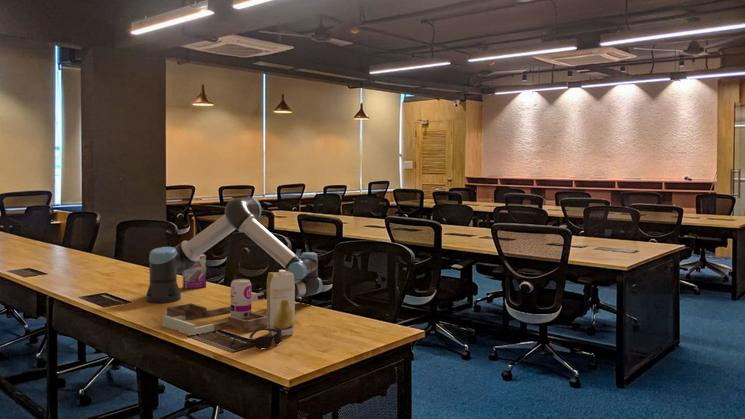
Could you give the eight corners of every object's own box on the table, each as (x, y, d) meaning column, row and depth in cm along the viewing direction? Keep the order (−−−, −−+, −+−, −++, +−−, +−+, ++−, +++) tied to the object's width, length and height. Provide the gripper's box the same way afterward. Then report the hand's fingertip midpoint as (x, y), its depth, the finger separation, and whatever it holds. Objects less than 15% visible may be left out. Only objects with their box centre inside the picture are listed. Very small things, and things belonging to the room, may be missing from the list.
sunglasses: (260, 353, 201) (260, 338, 201) (226, 344, 210) (226, 330, 210) (287, 343, 213) (287, 329, 212) (254, 335, 221) (254, 322, 221)
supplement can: (255, 315, 249) (255, 279, 248) (243, 320, 242) (243, 283, 241) (238, 313, 253) (238, 278, 251) (226, 318, 245) (226, 281, 244)
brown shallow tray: (223, 306, 265) (223, 297, 265) (285, 322, 239) (285, 312, 238) (167, 317, 245) (167, 307, 245) (227, 337, 218) (227, 326, 218)
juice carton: (271, 338, 217) (271, 272, 216) (265, 332, 224) (265, 268, 223) (296, 335, 222) (296, 270, 220) (289, 329, 229) (289, 267, 227)
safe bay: (183, 321, 239) (183, 311, 239) (213, 331, 226) (213, 320, 225) (162, 325, 232) (162, 315, 232) (192, 336, 219) (192, 325, 218)
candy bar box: (183, 289, 300) (183, 256, 298) (182, 287, 304) (181, 255, 303) (206, 287, 304) (206, 255, 303) (204, 285, 309) (204, 254, 308)
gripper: (303, 300, 264) (260, 310, 246) (283, 296, 272) (240, 304, 254) (303, 283, 263) (260, 291, 245) (283, 279, 272) (240, 287, 254)
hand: (250, 298), depth 250 cm, fingers closed
